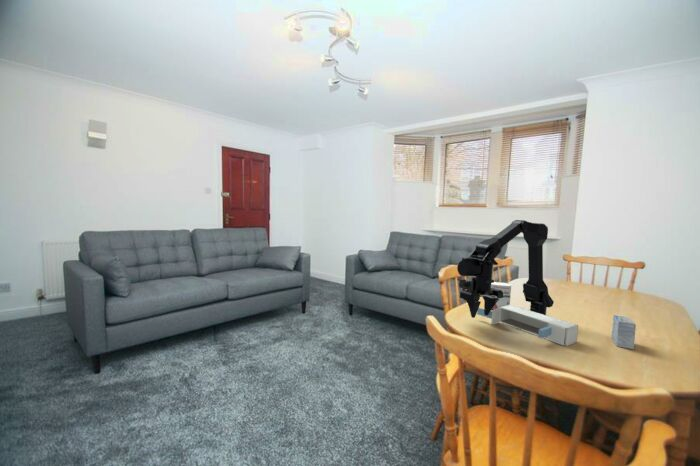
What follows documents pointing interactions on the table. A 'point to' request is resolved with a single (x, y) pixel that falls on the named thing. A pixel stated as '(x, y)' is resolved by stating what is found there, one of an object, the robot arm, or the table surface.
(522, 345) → the table surface
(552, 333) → the flap
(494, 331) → the table surface
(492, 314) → the flap
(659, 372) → the table surface
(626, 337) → the medicine box
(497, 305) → the ink box
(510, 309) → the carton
